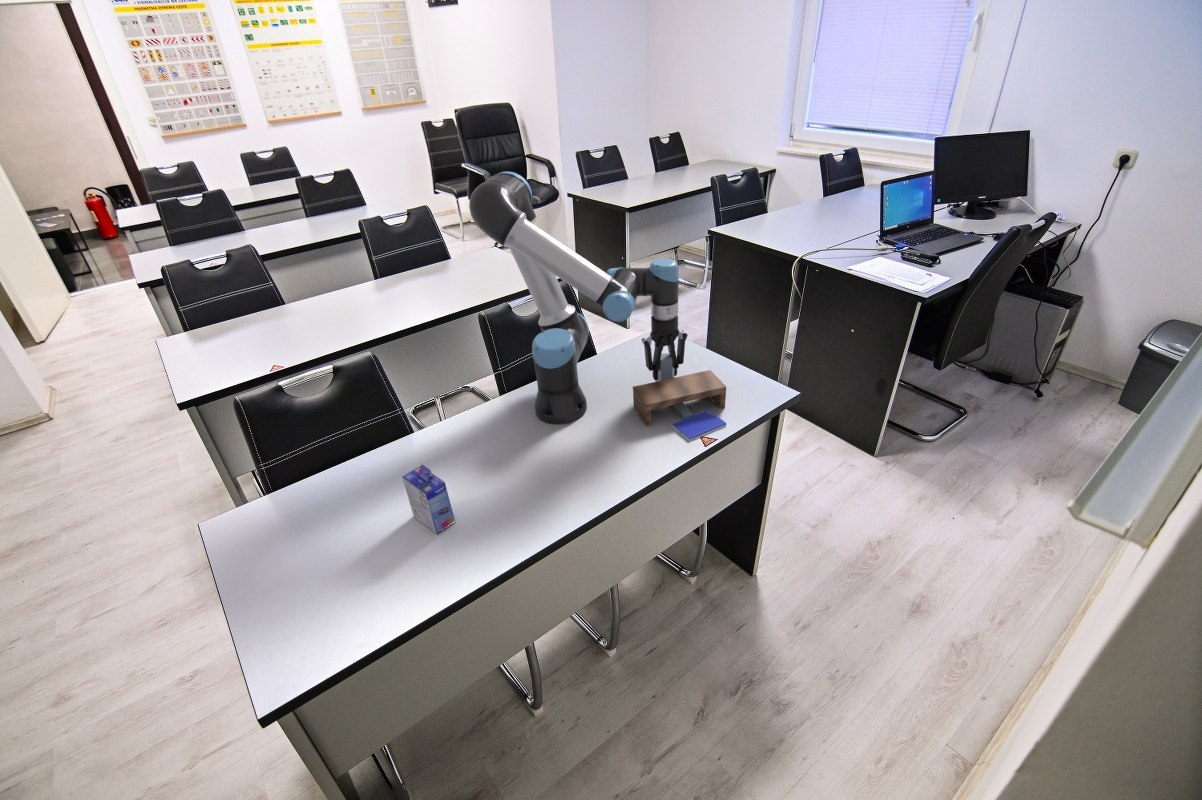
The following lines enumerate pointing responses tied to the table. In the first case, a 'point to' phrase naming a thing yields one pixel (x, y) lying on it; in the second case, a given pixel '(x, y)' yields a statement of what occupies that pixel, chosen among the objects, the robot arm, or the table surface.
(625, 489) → the table surface
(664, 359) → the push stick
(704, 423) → the blue flat slab
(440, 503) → the ink cartridge box
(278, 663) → the table surface
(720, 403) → the bench
